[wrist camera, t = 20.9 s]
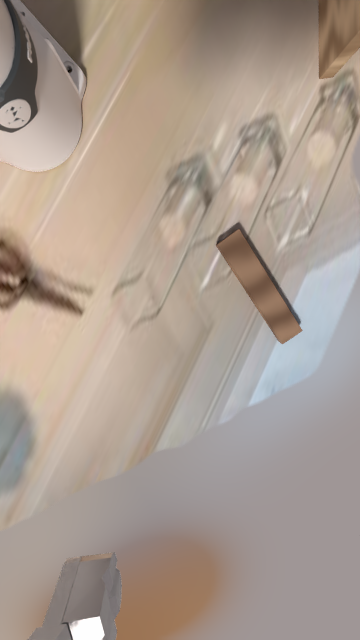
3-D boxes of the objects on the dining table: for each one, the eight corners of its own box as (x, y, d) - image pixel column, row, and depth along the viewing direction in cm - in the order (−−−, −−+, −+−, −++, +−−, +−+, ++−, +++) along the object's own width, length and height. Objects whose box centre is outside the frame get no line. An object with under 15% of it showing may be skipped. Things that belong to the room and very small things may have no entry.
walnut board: (296, 327, 47) (302, 330, 45) (277, 340, 47) (282, 344, 45) (235, 230, 43) (239, 228, 41) (215, 245, 43) (217, 244, 41)
